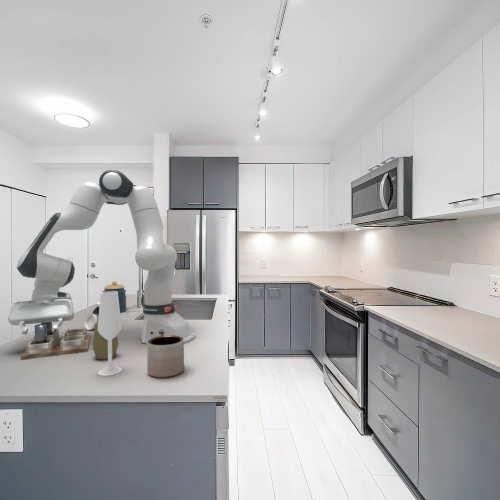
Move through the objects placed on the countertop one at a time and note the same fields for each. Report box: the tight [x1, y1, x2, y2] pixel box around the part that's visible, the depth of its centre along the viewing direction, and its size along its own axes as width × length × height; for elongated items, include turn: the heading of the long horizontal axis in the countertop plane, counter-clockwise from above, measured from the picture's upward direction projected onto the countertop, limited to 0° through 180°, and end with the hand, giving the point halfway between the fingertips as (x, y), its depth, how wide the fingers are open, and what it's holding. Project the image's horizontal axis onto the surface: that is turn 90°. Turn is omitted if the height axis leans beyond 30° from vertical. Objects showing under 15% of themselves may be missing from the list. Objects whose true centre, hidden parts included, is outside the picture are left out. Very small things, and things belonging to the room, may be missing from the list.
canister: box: [102, 281, 128, 314], centre depth 185 cm, size 13×13×18 cm
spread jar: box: [84, 301, 100, 331], centre depth 148 cm, size 12×11×12 cm
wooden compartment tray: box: [20, 322, 92, 360], centre depth 120 cm, size 20×20×10 cm
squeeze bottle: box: [92, 316, 119, 360], centre depth 109 cm, size 8×8×18 cm
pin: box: [34, 323, 47, 344], centre depth 113 cm, size 4×4×9 cm
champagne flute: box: [97, 291, 123, 377], centre depth 97 cm, size 7×7×24 cm
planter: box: [146, 335, 185, 379], centre depth 96 cm, size 11×11×10 cm
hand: (40, 331), depth 112 cm, fingers open, 8 cm apart
